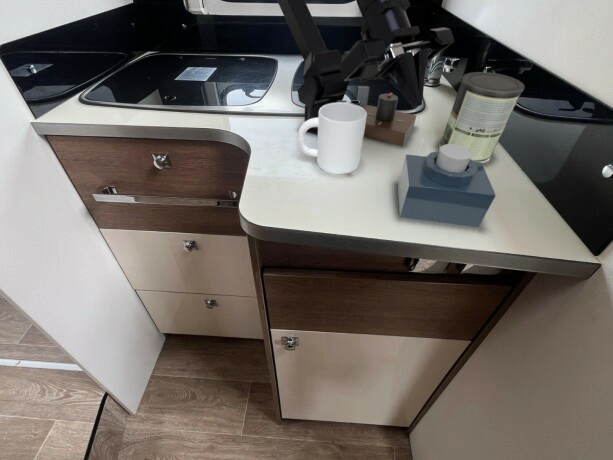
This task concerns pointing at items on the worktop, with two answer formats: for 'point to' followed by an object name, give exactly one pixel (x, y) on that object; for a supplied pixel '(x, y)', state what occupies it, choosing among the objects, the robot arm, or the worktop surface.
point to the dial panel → (388, 126)
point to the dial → (386, 107)
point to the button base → (443, 192)
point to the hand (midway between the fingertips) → (418, 106)
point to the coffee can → (481, 112)
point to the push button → (453, 158)
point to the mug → (336, 137)
